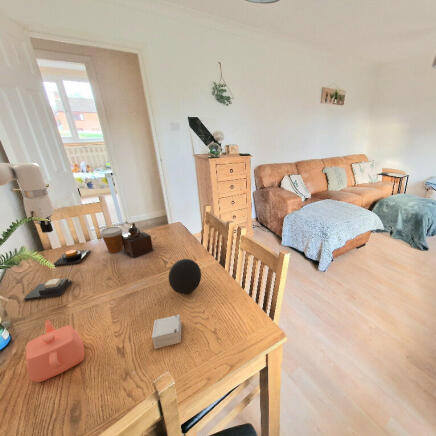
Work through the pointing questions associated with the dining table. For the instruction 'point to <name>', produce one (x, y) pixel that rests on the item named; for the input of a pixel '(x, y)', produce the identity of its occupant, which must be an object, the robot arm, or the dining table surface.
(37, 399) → the dining table surface
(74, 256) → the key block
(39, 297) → the dark grey base
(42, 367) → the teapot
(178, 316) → the small box
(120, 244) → the disposable coffee cup
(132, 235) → the brown coffee grinder
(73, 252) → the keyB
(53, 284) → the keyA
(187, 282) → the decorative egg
